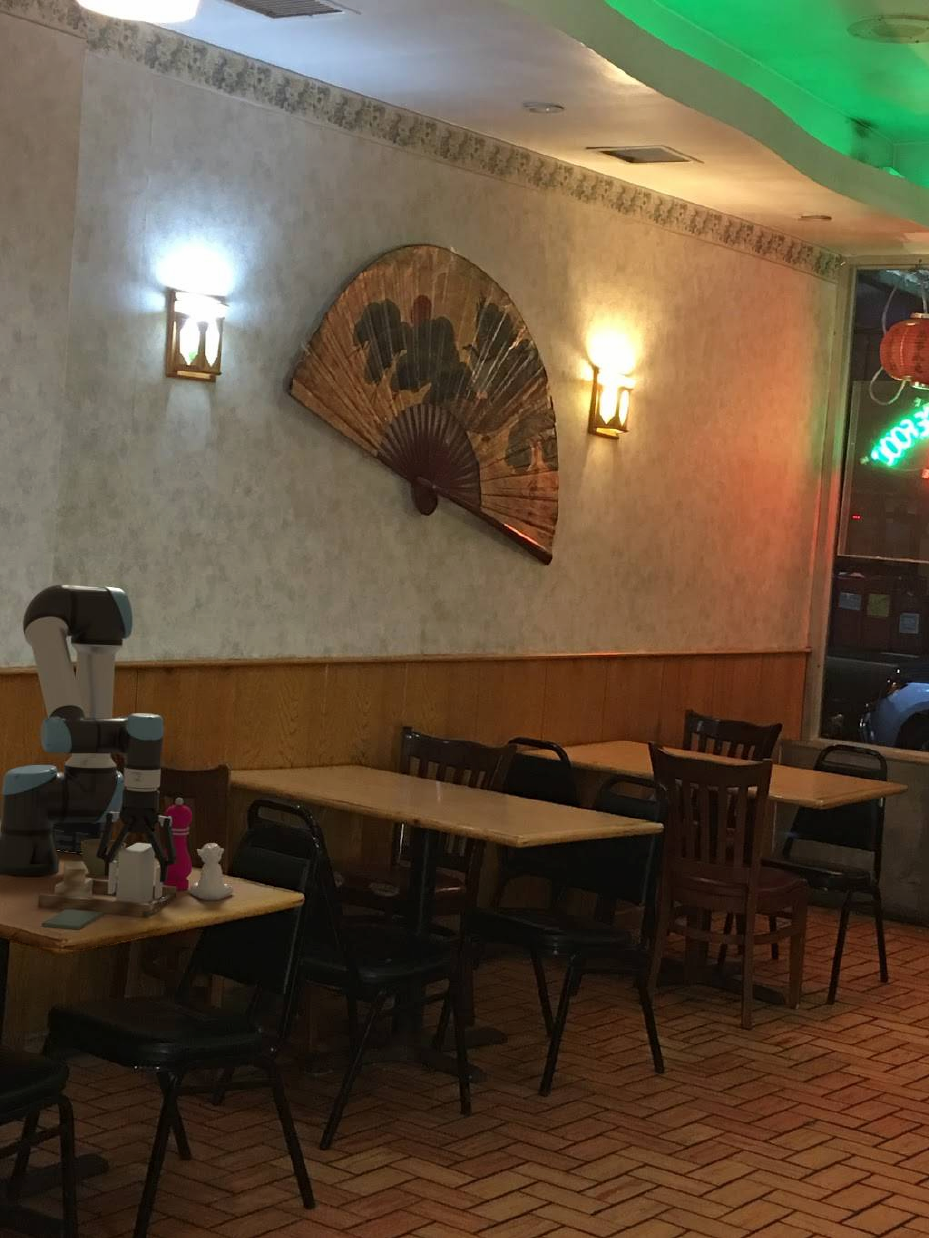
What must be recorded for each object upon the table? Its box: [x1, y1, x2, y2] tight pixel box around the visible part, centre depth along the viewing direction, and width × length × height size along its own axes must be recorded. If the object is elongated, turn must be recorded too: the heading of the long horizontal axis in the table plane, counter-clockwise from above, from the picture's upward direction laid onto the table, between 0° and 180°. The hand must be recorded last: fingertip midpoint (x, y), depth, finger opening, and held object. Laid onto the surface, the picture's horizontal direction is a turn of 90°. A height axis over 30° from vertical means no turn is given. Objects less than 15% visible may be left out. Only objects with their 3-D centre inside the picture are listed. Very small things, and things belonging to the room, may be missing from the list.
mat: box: [41, 909, 104, 930], centre depth 328 cm, size 8×14×1 cm, turn 173°
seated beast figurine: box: [189, 842, 234, 901], centre depth 358 cm, size 10×9×12 cm
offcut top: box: [62, 860, 86, 886], centre depth 347 cm, size 4×8×4 cm, turn 16°
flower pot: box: [81, 839, 127, 878], centre depth 374 cm, size 10×10×7 cm
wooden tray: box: [37, 878, 178, 918], centre depth 346 cm, size 23×20×2 cm
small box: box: [53, 822, 114, 853], centre depth 399 cm, size 13×7×12 cm, turn 72°
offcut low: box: [54, 877, 94, 898], centre depth 347 cm, size 5×10×4 cm, turn 177°
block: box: [115, 842, 156, 904], centre depth 345 cm, size 4×12×12 cm, turn 173°
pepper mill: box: [158, 797, 193, 891], centre depth 365 cm, size 7×7×20 cm
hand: (134, 894), depth 346 cm, fingers open, 9 cm apart
